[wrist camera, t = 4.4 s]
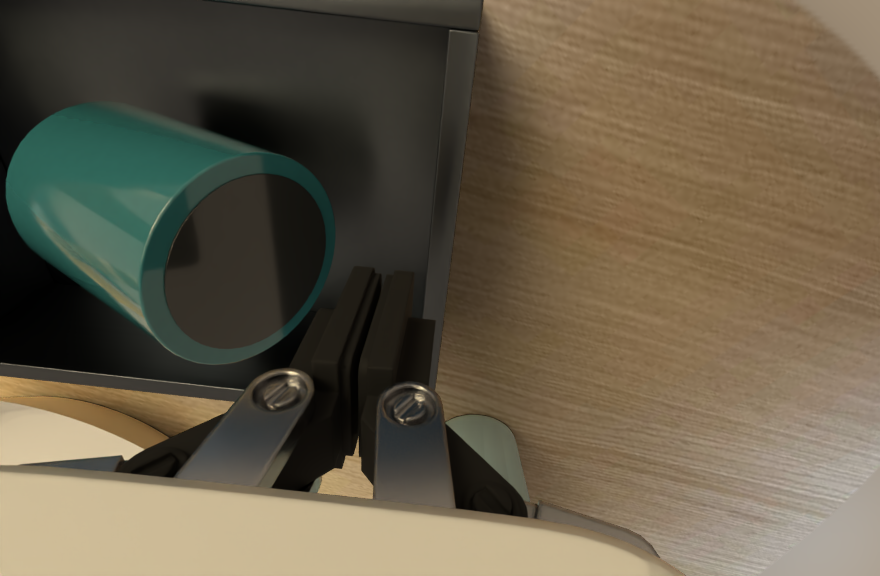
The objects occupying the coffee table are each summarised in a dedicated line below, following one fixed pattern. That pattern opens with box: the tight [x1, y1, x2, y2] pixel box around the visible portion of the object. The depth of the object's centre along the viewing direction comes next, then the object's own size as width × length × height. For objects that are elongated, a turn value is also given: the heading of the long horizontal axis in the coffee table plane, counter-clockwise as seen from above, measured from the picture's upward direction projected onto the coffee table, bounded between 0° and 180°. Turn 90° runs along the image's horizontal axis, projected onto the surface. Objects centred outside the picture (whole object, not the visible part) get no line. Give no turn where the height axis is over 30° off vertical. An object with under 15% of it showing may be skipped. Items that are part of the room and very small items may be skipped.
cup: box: [445, 415, 530, 502], centre depth 26 cm, size 8×8×10 cm
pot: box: [6, 101, 336, 365], centre depth 16 cm, size 7×7×8 cm
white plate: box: [0, 396, 169, 465], centre depth 33 cm, size 25×25×4 cm
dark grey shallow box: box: [0, 0, 484, 402], centre depth 18 cm, size 16×22×7 cm
